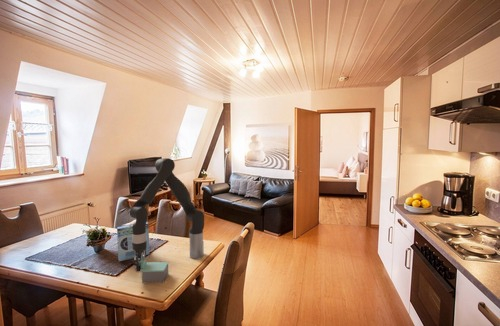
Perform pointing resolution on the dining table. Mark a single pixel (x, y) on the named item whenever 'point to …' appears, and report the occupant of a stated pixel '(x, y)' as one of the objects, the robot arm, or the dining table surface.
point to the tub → (154, 276)
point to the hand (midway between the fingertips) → (140, 268)
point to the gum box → (128, 242)
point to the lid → (153, 266)
